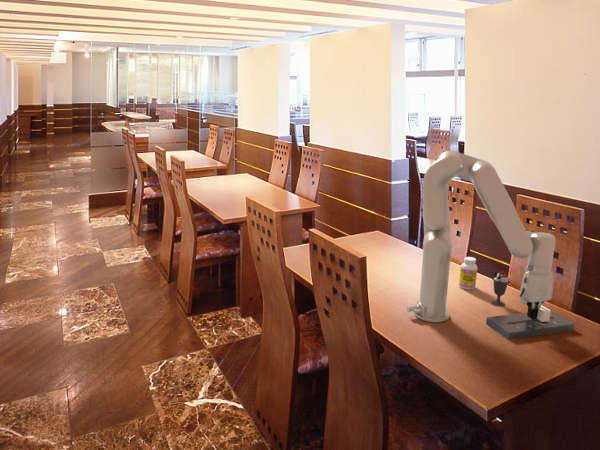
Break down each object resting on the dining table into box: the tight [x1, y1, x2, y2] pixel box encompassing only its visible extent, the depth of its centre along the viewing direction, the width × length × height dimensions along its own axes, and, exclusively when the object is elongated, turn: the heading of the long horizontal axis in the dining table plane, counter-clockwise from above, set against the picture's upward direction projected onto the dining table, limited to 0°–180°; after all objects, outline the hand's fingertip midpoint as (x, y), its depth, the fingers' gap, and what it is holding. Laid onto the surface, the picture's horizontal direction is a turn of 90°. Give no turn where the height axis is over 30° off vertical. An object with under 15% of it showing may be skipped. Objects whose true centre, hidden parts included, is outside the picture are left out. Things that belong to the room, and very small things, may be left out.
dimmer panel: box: [485, 310, 576, 340], centre depth 174 cm, size 27×12×3 cm, turn 105°
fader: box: [537, 304, 552, 322], centre depth 174 cm, size 3×5×4 cm, turn 15°
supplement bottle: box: [458, 256, 479, 291], centre depth 208 cm, size 7×7×13 cm
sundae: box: [491, 268, 511, 307], centre depth 191 cm, size 7×7×15 cm
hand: (531, 317), depth 173 cm, fingers closed
